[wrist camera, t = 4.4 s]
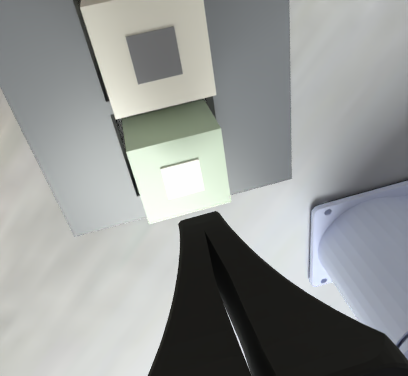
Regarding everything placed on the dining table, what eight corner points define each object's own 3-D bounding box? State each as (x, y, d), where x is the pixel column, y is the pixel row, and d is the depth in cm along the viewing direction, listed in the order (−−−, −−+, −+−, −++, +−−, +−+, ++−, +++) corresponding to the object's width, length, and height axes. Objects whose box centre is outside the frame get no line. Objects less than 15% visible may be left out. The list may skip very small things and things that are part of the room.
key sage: (203, 99, 18) (221, 129, 15) (214, 167, 20) (231, 203, 17) (121, 118, 17) (126, 153, 15) (142, 186, 19) (149, 225, 17)
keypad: (261, -325, 12) (284, -357, 10) (279, 162, 23) (291, 178, 21) (-152, -270, 11) (-190, -297, 9) (75, 215, 22) (74, 237, 20)
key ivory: (183, -30, 14) (201, -18, 12) (198, 69, 17) (217, 95, 14) (81, -9, 14) (80, 7, 12) (112, 89, 16) (115, 120, 14)
